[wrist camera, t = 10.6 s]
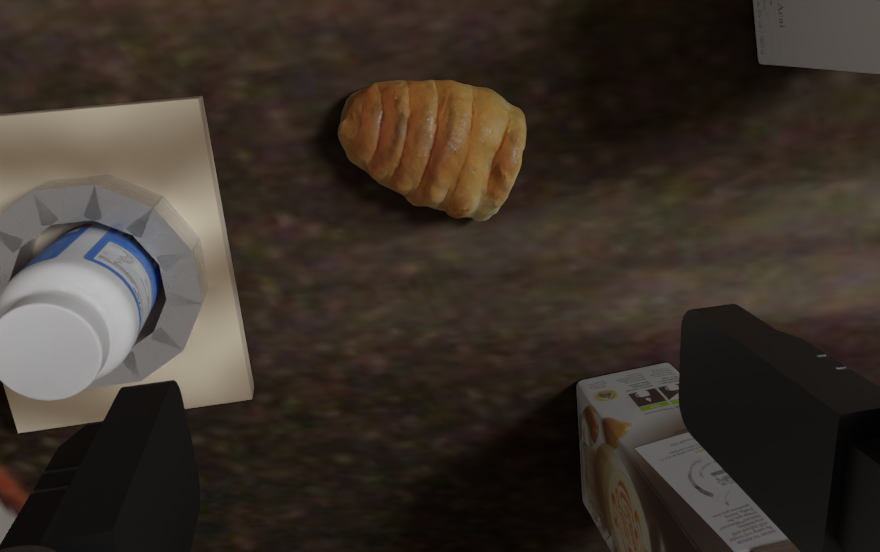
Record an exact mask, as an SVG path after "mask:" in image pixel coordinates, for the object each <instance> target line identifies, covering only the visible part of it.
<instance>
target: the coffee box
mask: <svg viewBox="0 0 880 552" xmlns="http://www.w3.org/2000/svg"><path fill="white" fill-rule="evenodd" d="M576 392H577V410H578V427H579V445H580V463H581V482H582V499H583V503H584V505H585V506H586V508H587V510H588V512H589V513H590V515H591V517H592V519H593V521H594V522H595V524H596V526H597V527H598V529H599V531H600V533H601V534H602V536H603V538H604V539H605V541H606V543H607V545H608V547H609V548H610V550H611V552H800V551H799V549H798V548H797V547H796V546H795V545H794V544H793V543H792V542H791V541H790V540H789V539H788V538H787V537H786V536H785V535H784V534H783V532H782V531H781V530H780V529H779V528H778V527H777V526H776V525H775V524H774V523H773V522H772V521H771V520H770V519H769V518H768V517H767V515H766V514H765V513H764V512H763V511H762V510H761V509H760V508H759V507H758V506H757V505H756V504H755V503H754V502H753V501H752V500H751V498H750V497H749V496H748V495H747V494H746V493H745V492H744V491H743V490H742V489H741V488H740V487H739V486H738V485H737V484H736V483H735V481H734V480H733V479H732V478H731V477H730V476H729V475H728V474H727V473H726V472H725V471H724V470H723V469H722V468H721V467H720V466H719V464H718V463H717V462H716V461H715V460H714V459H713V458H712V457H711V456H710V455H709V454H708V453H707V452H706V451H705V450H704V449H703V447H702V446H701V445H700V444H699V443H698V442H697V441H696V440H695V439H694V438H693V437H692V436H691V434H690V433H689V432H688V430H687V428H686V426H685V424H684V422H683V419H682V416H681V412H680V407H679V372H678V371H677V370H675V369H674V368H673V366H671V365H670V364H669V363H661V364H657V365H652V366H647V367H642V368H637V369H632V370H627V371H622V372H618V373H613V374H608V375H603V376H599V377H594V378H589V379H585V380H581V381H579V382H578V383H577V385H576Z"/></svg>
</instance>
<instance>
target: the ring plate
mask: <svg viewBox="0 0 880 552" xmlns="http://www.w3.org/2000/svg"><path fill="white" fill-rule="evenodd" d="M105 174H110V175H112V176H115V177H118V178H120V179H123V180H125V181H128V182H130V183H133V184H135V185H138V186H140V187H143V188H145V189H148V190H150V191H153V192H156V193H158V194H161V195H163V196H164V197H165V198H166V199H167V200H168V201H169V202H170V203H171V205H172V206H173V207H174V208H175V209H176V210H177V212H178V213H179V214H180V215H181V216H182V217H183V218H184V220H185V221H186V222H187V223H188V224H189V225H190V226H191V228H192V229H193V230H194V231H195V232H196V233H197V234H198V236H199V237H200V240H201V245H202V250H203V256H204V261H205V266H206V271H207V277H208V282H209V289H208V292H207V294H206V297H205V299H204V302H203V304H202V307H201V309H200V312H199V314H198V317H197V319H196V321H195V324H194V326H193V329H192V331H191V334H190V336H189V339H188V341H187V343H186V346H185V348H184V350H183V351H182V352H181V353H179V354H178V355H177V356H175V357H174V358H173V359H171V360H170V361H168V362H167V363H166V364H164V365H163V366H161V367H160V368H159V369H157V370H156V371H154V372H153V373H152V374H150V375H149V376H148V377H146V378H145V379H143V380H142V381H140V382H133V383H125V384H118V385H111V386H104V387H97V388H89V389H84V390H82V391H81V392H79V393H78V394H76V395H73V396H71V397H68V398H65V399H60V400H51V401H45V400H37V399H32V398H28V397H25V396H23V395H20V394H18V393H16V392H14V391H13V390H11V389H10V388H8V387H7V386H6V385H5V384H4V383H3V385H4V389H5V392H6V395H7V399H8V402H9V405H10V408H11V412H12V415H13V418H14V422H15V425H16V428H17V431H18V433H23V432H30V431H37V430H44V429H51V428H58V427H64V426H71V425H78V424H85V423H92V422H99V421H103V420H104V418H105V417H106V415H107V413H108V411H109V409H110V407H111V405H112V403H113V401H114V399H115V398H116V396H117V394H118V392H119V390H120V389H121V388H122V387H126V386H134V385H141V384H148V383H156V382H163V381H170V380H175V381H176V382H177V384H178V386H179V388H180V391H181V394H182V399H183V403H184V408H185V409H188V408H195V407H202V406H209V405H216V404H223V403H230V402H236V401H243V400H250V399H252V397H253V391H254V383H253V377H252V372H251V366H250V361H249V355H248V349H247V344H246V338H245V332H244V327H243V321H242V316H241V310H240V304H239V299H238V293H237V288H236V282H235V276H234V271H233V265H232V260H231V254H230V248H229V243H228V237H227V232H226V226H225V220H224V215H223V209H222V203H221V198H220V192H219V187H218V181H217V175H216V170H215V164H214V159H213V153H212V147H211V142H210V136H209V131H208V125H207V119H206V114H205V108H204V102H203V97H202V96H196V97H185V98H174V99H163V100H152V101H140V102H129V103H118V104H107V105H96V106H85V107H74V108H63V109H51V110H40V111H29V112H18V113H7V114H0V214H2V213H3V212H4V211H6V210H7V209H8V208H10V207H11V206H12V205H14V204H15V203H16V202H18V201H19V200H20V199H22V198H23V197H24V196H26V195H27V194H29V193H30V192H31V191H33V190H34V189H36V188H38V187H40V186H41V185H43V184H45V183H47V182H48V181H50V180H56V179H66V178H76V177H86V176H95V175H105ZM90 222H96V221H93V220H91V221H82V222H73V223H63V224H54V225H51V226H49V227H48V228H46V229H45V230H44V231H42V232H41V233H40V234H39V237H38V239H37V242H36V245H35V248H34V251H33V254H32V257H31V260H30V262H31V261H32V260H33V259H34V258H35V257H37V256H38V255H39V254H40V253H41V252H42V251H43V250H44V249H46V248H47V247H48V246H49V245H50V244H52V243H53V242H54V241H55V240H56V239H57V238H58V237H60V236H61V235H62V234H64V233H65V232H67V231H68V230H70V229H72V228H74V227H76V226H79V225H82V224H85V223H90ZM165 302H166V295H165V290H164V286H163V281H162V283H161V289H160V292H159V295H158V298H157V300H156V302H155V304H154V306H153V307H152V309H151V311H150V313H149V315H148V318H147V319H146V321H145V323H144V325H143V327H145V326H146V325H148V324H149V323H150V322H152V321H153V320H154V319H156V318H157V317H159V316H160V315H161V312H162V310H163V307H164V305H165ZM143 327H142V328H143Z"/></svg>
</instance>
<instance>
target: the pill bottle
mask: <svg viewBox="0 0 880 552" xmlns="http://www.w3.org/2000/svg"><path fill="white" fill-rule="evenodd" d="M161 283H162V276H161V272H160V267H159V264H158V263H157V262H156V261H155V259H154V258H153V257H152V256H151V255H150V254H149V253H148V252H147V251H146V250H145V249H144V247H143V246H142V245H141V244H140V243H139V242H138V241H137V240H136V239H135V238H134V236H133V235H131V234H128V233H125V232H123V231H120V230H117V229H115V228H112V227H109V226H107V225H104V224H101V223H99V222H90V223H85V224H82V225H79V226H76V227H74V228H72V229H70V230H68V231H67V232H65V233H64V234H62V235H61V236H60V237H58V238H57V239H56V240H55V241H54V242H53V243H52V244H50V245H49V246H48V247H47V248H46V249H44V250H43V251H42V252H41V253H40V254H39V255H38V256H37V257H35V258H34V259H33V260H32V261H31V262H30V263H29V264H27V265H26V266H25V267H24V268H23V269H22V270H21V271H20V272H19V273H17V274H16V275H15V276H14V277H13V278H12V279H11V280H10V282H9V283H8V284H7V285H6V286H5V288H4V289H3V290H2V292H1V294H0V381H1V382H3V383H4V384H5V385H6V386H7V387H8V388H10V389H11V390H13V391H14V392H16V393H18V394H20V395H23V396H25V397H28V398H32V399H37V400H45V401H51V400H60V399H65V398H68V397H71V396H73V395H76V394H78V393H79V392H81V391H82V390H84V389H85V388H87V387H88V386H89V385H90V384H91V383H92V382H93V381H94V380H97V379H99V378H101V377H103V376H105V375H107V374H108V373H110V372H111V371H113V370H114V369H115V368H117V367H118V366H119V365H120V364H121V363H122V362H123V360H124V359H125V358H126V357H127V355H128V354H129V352H130V350H131V349H132V347H133V345H134V343H135V341H136V339H137V337H138V335H139V333H140V331H141V329H142V327H143V325H144V323H145V321H146V319H147V318H148V315H149V313H150V311H151V309H152V307H153V306H154V304H155V302H156V300H157V298H158V295H159V292H160V289H161Z"/></svg>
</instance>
